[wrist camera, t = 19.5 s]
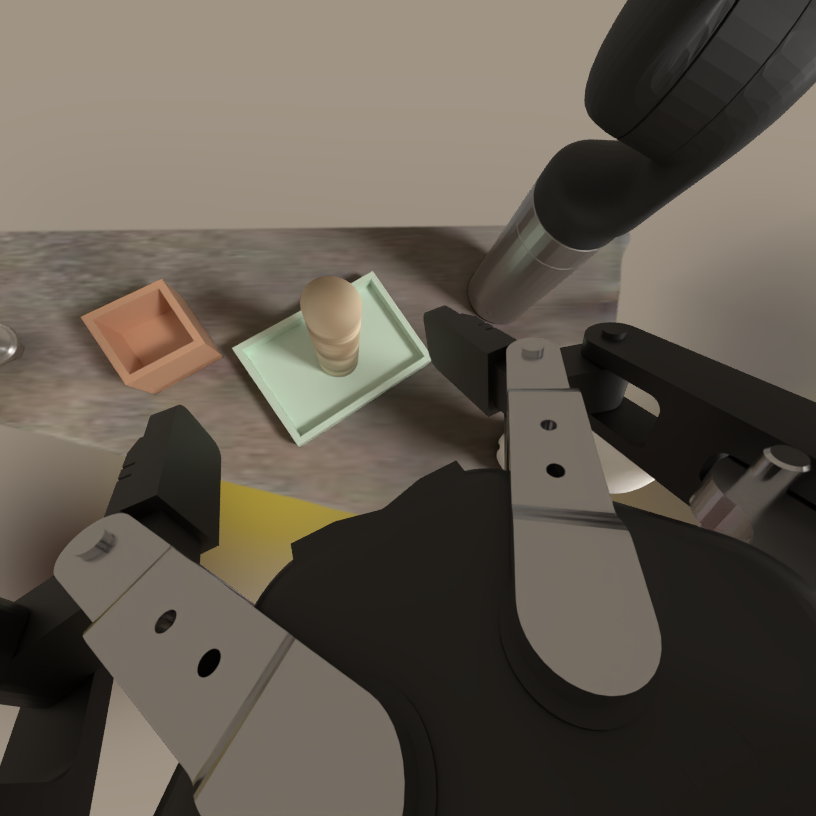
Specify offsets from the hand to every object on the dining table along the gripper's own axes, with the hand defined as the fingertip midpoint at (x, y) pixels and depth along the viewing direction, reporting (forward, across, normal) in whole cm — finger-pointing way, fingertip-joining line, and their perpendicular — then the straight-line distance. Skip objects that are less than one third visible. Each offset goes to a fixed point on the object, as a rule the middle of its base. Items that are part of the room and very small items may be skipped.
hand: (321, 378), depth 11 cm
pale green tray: (+28, -3, +15) cm, 32 cm away
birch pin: (+28, -3, +14) cm, 31 cm away
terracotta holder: (+35, +15, +9) cm, 39 cm away
